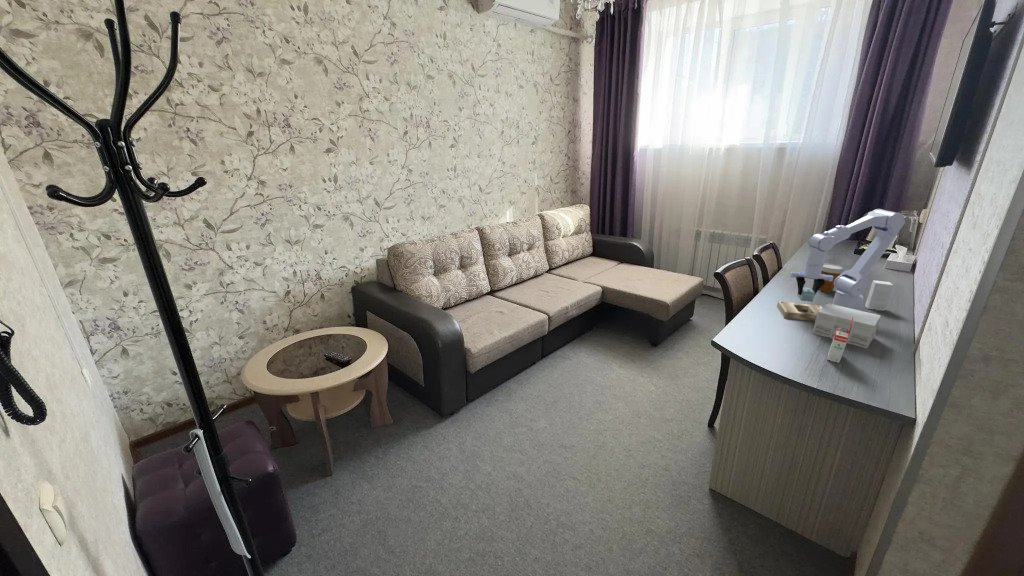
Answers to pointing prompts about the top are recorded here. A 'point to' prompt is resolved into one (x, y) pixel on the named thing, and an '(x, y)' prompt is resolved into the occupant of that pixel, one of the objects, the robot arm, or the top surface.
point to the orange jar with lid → (830, 270)
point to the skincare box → (879, 295)
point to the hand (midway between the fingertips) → (805, 295)
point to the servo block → (806, 294)
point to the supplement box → (847, 324)
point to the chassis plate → (798, 310)
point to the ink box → (839, 343)
